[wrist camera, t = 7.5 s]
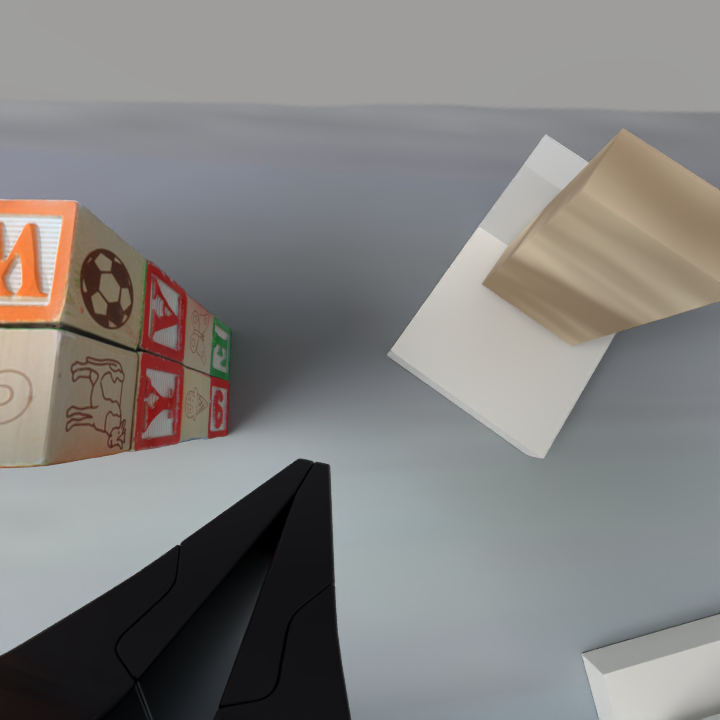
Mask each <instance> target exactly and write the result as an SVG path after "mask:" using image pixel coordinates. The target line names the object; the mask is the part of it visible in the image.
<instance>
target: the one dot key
mask: <svg viewBox="0 0 720 720" xmlns="http://www.w3.org/2000/svg"><path fill="white" fill-rule="evenodd" d="M701 720H720V714H716V715H713V716H710V717H707V718H704V719H701Z"/></svg>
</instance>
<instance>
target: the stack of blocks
mask: <svg viewBox="0 0 720 720" xmlns="http://www.w3.org/2000/svg"><path fill="white" fill-rule="evenodd" d="M230 345H231V330H230V329H229V328H228V327H227V326H226V325H225V324H224V323H223V322H222V321H220V320H219V319H218V318H217V317H216V316H215V315H212V314H210V313H209V312H208V311H207V310H206V309H204V308H203V307H202V306H201V305H200V304H199V303H197V302H196V301H195V300H194V299H192V298H191V297H190V296H188V295H187V294H186V292H185V290H184V289H183V288H182V287H181V286H179V285H178V284H177V283H176V282H175V281H173V280H172V279H171V278H170V277H169V276H167V275H166V273H165V272H163V271H161V270H160V269H159V268H158V267H157V266H156V265H155V264H154V263H152V262H151V261H149V260H146V259H145V258H144V257H142V256H141V255H140V254H139V253H138V252H137V251H135V250H134V249H133V248H132V247H131V246H130V245H129V244H128V243H126V242H125V241H124V240H123V239H122V238H121V237H120V236H119V235H117V234H116V233H115V232H114V231H113V230H111V229H110V228H109V227H108V226H107V225H106V224H104V223H103V222H102V221H101V220H100V219H98V218H97V217H96V216H95V215H94V214H93V213H92V212H91V211H90V210H88V209H87V208H86V207H85V206H83V205H82V204H81V203H79V202H78V201H77V200H20V199H0V468H19V467H37V466H49V465H55V464H61V463H67V462H73V461H78V460H84V459H90V458H97V457H102V456H108V455H114V454H118V453H122V452H131V451H139V450H147V449H154V448H159V447H164V446H169V445H175V444H178V443H181V442H186V441H190V440H206V439H212V438H216V437H224V436H227V432H228V409H229V385H230V384H229V365H230Z"/></svg>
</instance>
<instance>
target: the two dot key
mask: <svg viewBox="0 0 720 720" xmlns="http://www.w3.org/2000/svg"><path fill="white" fill-rule="evenodd" d="M482 285H484V286H485V287H487V288H488V289H490V290H491V291H492V292H494V293H495V294H497V295H498V296H500V297H501V298H503V299H504V300H506V301H507V302H508V303H510V304H511V305H513V306H514V307H516V308H517V309H519V310H520V311H522V312H523V313H524V314H526V315H527V316H529V317H530V318H532V319H533V320H535V321H536V322H538V323H539V324H541V325H542V326H543V327H545V328H546V329H548V330H549V331H551V332H552V333H554V334H555V335H557V336H558V337H559V338H561V339H562V340H564V341H565V342H567V343H568V344H570V345H571V346H574V345H577V344H580V343H583V342H587V341H590V340H593V339H597V338H600V337H603V336H607V335H610V334H613V333H617V332H620V331H623V330H626V329H630V328H633V327H636V326H640V325H643V324H646V323H650V322H653V321H656V320H660V319H663V318H666V317H669V316H673V315H676V314H679V313H683V312H686V311H689V310H693V309H696V308H699V307H702V306H706V305H709V304H712V303H716V302H719V301H720V190H718V189H717V188H715V187H714V186H712V185H711V184H709V183H707V182H706V181H704V180H703V179H701V178H700V177H698V176H697V175H695V174H693V173H692V172H690V171H689V170H687V169H686V168H684V167H683V166H681V165H680V164H678V163H676V162H675V161H673V160H672V159H670V158H669V157H667V156H666V155H664V154H662V153H661V152H659V151H658V150H656V149H655V148H653V147H652V146H650V145H649V144H647V143H645V142H644V141H642V140H641V139H639V138H638V137H636V136H635V135H633V134H631V133H630V132H628V131H627V130H625V129H624V128H623V129H622V130H621V131H620V132H619V133H618V134H617V135H616V136H615V137H614V138H613V139H612V140H611V141H610V142H609V143H608V144H607V145H606V146H605V147H604V148H603V149H602V150H601V151H600V152H599V153H598V154H597V155H596V156H595V157H594V158H593V159H592V160H591V161H590V162H589V163H588V164H587V165H586V166H585V167H584V168H583V169H582V170H581V171H580V172H579V173H578V174H577V175H576V177H575V178H574V179H573V180H572V181H571V182H570V183H569V184H568V185H567V186H566V187H565V188H564V189H563V190H562V191H561V192H560V193H559V194H558V195H557V196H556V197H555V198H554V199H553V200H552V201H551V202H550V203H549V204H548V205H547V206H546V207H545V208H544V209H543V210H542V211H541V212H540V213H539V214H538V215H537V216H536V217H535V218H534V219H533V220H532V221H531V222H530V223H529V224H528V225H527V226H526V227H525V228H524V229H523V230H522V231H521V232H520V233H519V234H518V236H517V237H516V238H515V239H514V240H513V241H512V242H511V243H510V244H509V245H508V246H507V248H506V249H505V251H504V252H503V254H502V255H501V256H500V258H499V259H498V261H497V262H496V264H495V265H494V267H493V268H492V270H491V271H490V273H489V274H488V275H487V277H486V278H485V280H484V281H483V283H482Z"/></svg>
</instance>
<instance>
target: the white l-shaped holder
mask: <svg viewBox="0 0 720 720" xmlns="http://www.w3.org/2000/svg"><path fill="white" fill-rule="evenodd" d="M588 163H589V162H587V161H586V160H584V159H583V158H581V157H579V156H578V155H576V154H575V153H573V152H572V151H570V150H569V149H567V148H566V147H564V146H563V145H561V144H560V143H558V142H557V141H555V140H554V139H552V138H550V137H549V136H547V135H546V134H545V136H544V137H543V138H542V140H541V141H540V143H539V144H538V145H537V147H536V148H535V149H534V151H533V152H532V154H531V155H530V156H529V158H528V159H527V160H526V162H525V163H524V164H523V166H522V167H521V169H520V170H519V171H518V173H517V174H516V175H515V177H514V178H513V180H512V181H511V182H510V184H509V185H508V186H507V188H506V189H505V191H504V192H503V193H502V195H501V196H500V197H499V199H498V200H497V201H496V203H495V204H494V206H493V207H492V208H491V210H490V211H489V212H488V214H487V215H486V217H485V218H484V219H483V221H482V222H481V224H480V225H479V226H478V228H477V229H476V231H475V232H474V233H473V235H472V236H471V238H470V239H469V240H468V242H467V243H466V245H465V246H464V247H463V249H462V250H461V252H460V253H459V254H458V256H457V257H456V259H455V260H454V261H453V263H452V264H451V266H450V267H449V268H448V270H447V271H446V273H445V274H444V275H443V277H442V278H441V280H440V281H439V282H438V284H437V285H436V287H435V288H434V289H433V291H432V292H431V294H430V295H429V297H428V298H427V299H426V301H425V302H424V304H423V305H422V306H421V308H420V309H419V311H418V312H417V313H416V315H415V316H414V318H413V319H412V320H411V322H410V323H409V325H408V326H407V327H406V329H405V330H404V332H403V333H402V334H401V336H400V337H399V339H398V340H397V341H396V343H395V344H394V346H393V347H392V348H391V350H390V351H389V353H388V354H387V356H388V357H390V358H391V359H392V360H394V361H395V362H397V363H398V364H400V365H401V366H402V367H404V368H405V369H407V370H408V371H409V372H411V373H412V374H414V375H415V376H416V377H418V378H419V379H421V380H422V381H423V382H425V383H426V384H428V385H429V386H430V387H432V388H433V389H435V390H436V391H437V392H439V393H440V394H442V395H443V396H445V397H446V398H447V399H449V400H450V401H452V402H453V403H454V404H456V405H457V406H459V407H460V408H461V409H463V410H464V411H466V412H467V413H468V414H470V415H471V416H473V417H474V418H475V419H477V420H478V421H480V422H481V423H482V424H484V425H485V426H487V427H488V428H490V429H491V430H492V431H494V432H495V433H497V434H498V435H499V436H501V437H502V438H504V439H505V440H506V441H508V442H509V443H511V444H512V445H513V446H515V447H516V448H518V449H519V450H520V451H522V452H523V453H525V454H526V455H528V456H531V457H536V458H541V459H544V457H545V455H546V453H547V452H548V450H549V448H550V446H551V445H552V443H553V441H554V440H555V438H556V436H557V434H558V433H559V431H560V429H561V427H562V426H563V424H564V422H565V421H566V419H567V417H568V415H569V414H570V412H571V410H572V408H573V407H574V405H575V403H576V402H577V400H578V398H579V396H580V395H581V393H582V391H583V389H584V388H585V386H586V384H587V383H588V381H589V379H590V377H591V376H592V374H593V372H594V371H595V369H596V367H597V365H598V364H599V362H600V360H601V358H602V357H603V355H604V353H605V352H606V350H607V348H608V346H609V345H610V343H611V341H612V339H613V338H614V336H615V334H616V333H613V334H610V335H607V336H603V337H600V338H597V339H593V340H590V341H587V342H583V343H580V344H577V345H574V346H571V345H570V344H568V343H567V342H565V341H564V340H562V339H561V338H559V337H558V336H557V335H555V334H554V333H552V332H551V331H549V330H548V329H546V328H545V327H543V326H542V325H541V324H539V323H538V322H536V321H535V320H533V319H532V318H530V317H529V316H527V315H526V314H524V313H523V312H522V311H520V310H519V309H517V308H516V307H514V306H513V305H511V304H510V303H508V302H507V301H506V300H504V299H503V298H501V297H500V296H498V295H497V294H495V293H494V292H492V291H491V290H490V289H488V288H487V287H485V286H484V285H482V283H483V281H484V280H485V278H486V277H487V275H488V274H489V273H490V271H491V270H492V268H493V267H494V265H495V264H496V262H497V261H498V259H499V258H500V256H501V255H502V254H503V252H504V251H505V249H506V248H507V246H508V245H509V244H510V243H511V242H512V241H513V240H514V239H515V238H516V237H517V236H518V234H519V233H520V232H521V231H522V230H523V229H524V228H525V227H526V226H527V225H528V224H529V223H530V222H531V221H532V220H533V219H534V218H535V217H536V216H537V215H538V214H539V213H540V212H541V211H542V210H543V209H544V208H545V207H546V206H547V205H548V204H549V203H550V202H551V201H552V200H553V199H554V198H555V197H556V196H557V195H558V194H559V193H560V192H561V191H562V190H563V189H564V188H565V187H566V186H567V185H568V184H569V183H570V182H571V181H572V180H573V179H574V178H575V177H576V175H577V174H578V173H579V172H580V171H581V170H582V169H583V168H584V167H585V166H586V165H587V164H588Z"/></svg>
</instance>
